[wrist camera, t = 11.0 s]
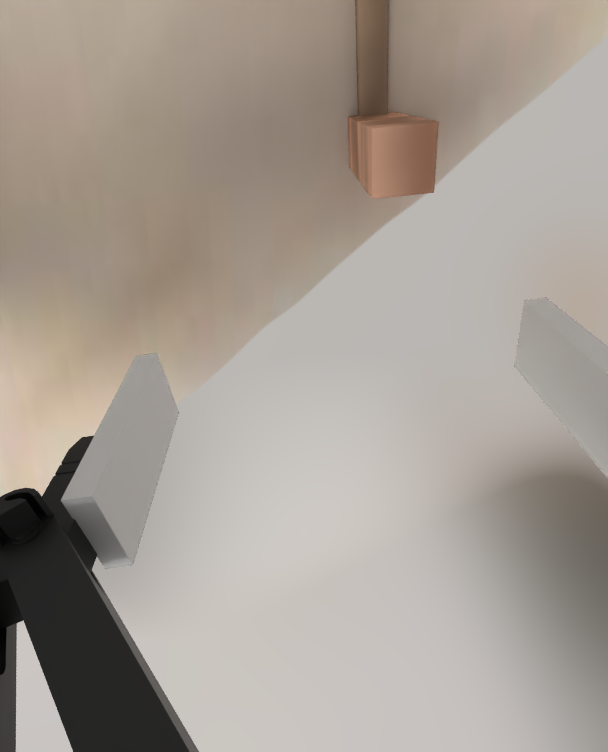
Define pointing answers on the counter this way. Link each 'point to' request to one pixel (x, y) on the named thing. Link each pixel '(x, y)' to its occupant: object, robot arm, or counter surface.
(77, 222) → the counter surface
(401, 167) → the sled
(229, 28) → the counter surface
